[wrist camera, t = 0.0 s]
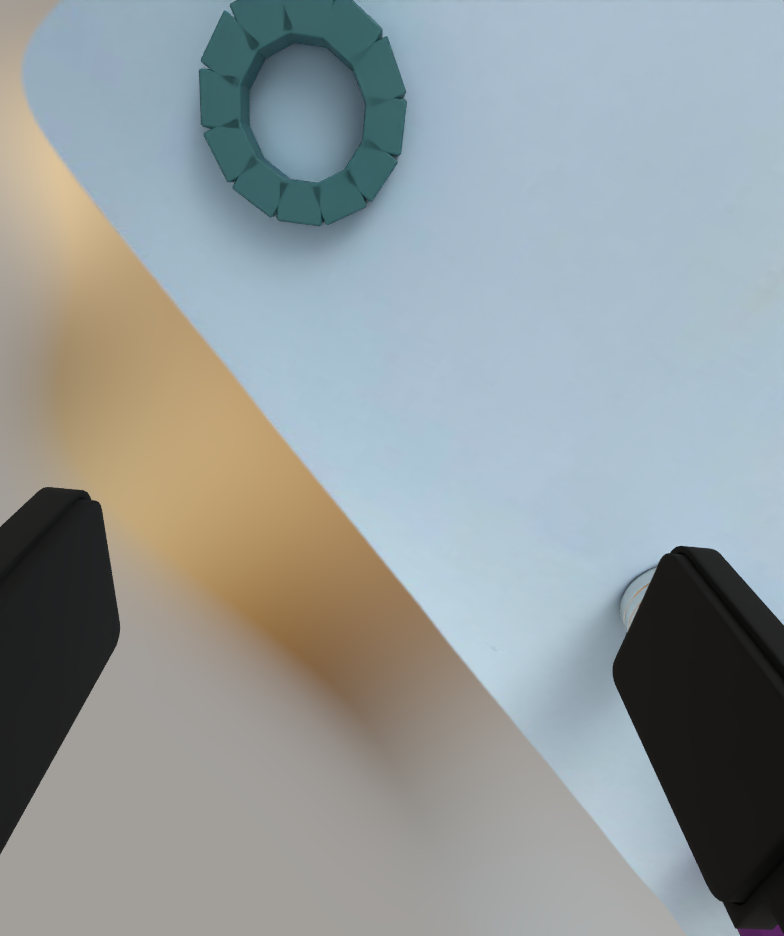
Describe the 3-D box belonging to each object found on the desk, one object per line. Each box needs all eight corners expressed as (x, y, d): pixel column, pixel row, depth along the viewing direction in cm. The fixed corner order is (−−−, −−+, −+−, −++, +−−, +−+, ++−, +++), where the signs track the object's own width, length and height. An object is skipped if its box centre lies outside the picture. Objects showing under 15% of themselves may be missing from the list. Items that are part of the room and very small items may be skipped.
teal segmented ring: (206, -24, 20) (194, -39, 19) (416, 10, 21) (418, -1, 20) (214, 208, 24) (203, 211, 23) (390, 232, 25) (391, 235, 23)
